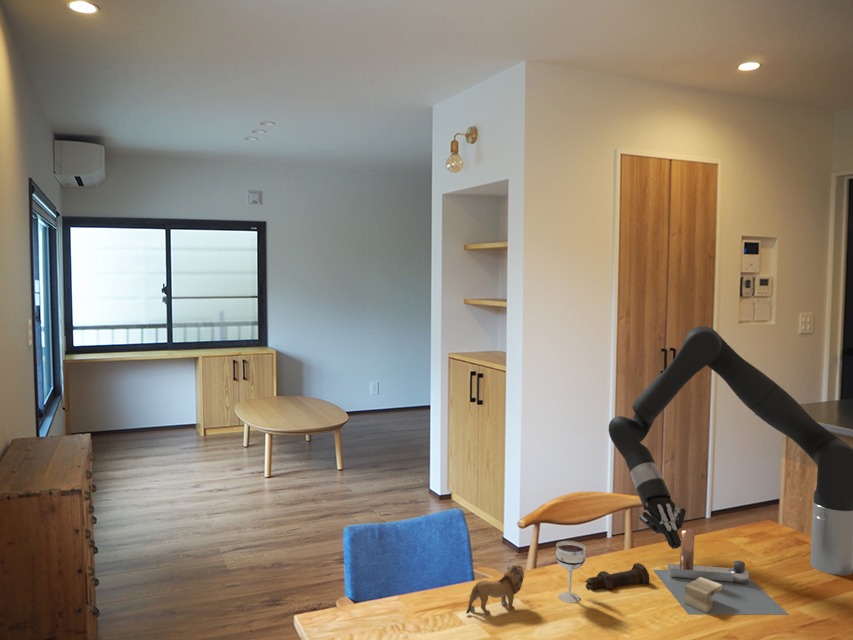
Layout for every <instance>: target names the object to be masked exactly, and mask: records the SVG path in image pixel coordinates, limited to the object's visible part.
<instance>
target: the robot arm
mask: <svg viewBox="0 0 853 640" xmlns="http://www.w3.org/2000/svg"><path fill="white" fill-rule="evenodd" d="M706 366H707V367H708V368H709V369H711V370H712V371H714V372H715V373H716V374H717V375H718V376H719V377H720V378H722V380H723V381H724V382H725V383H726V384H727V386H728V387H729V388H730V389H731V390H732V392H733V393H734V394H735V395H736V396H737V398H738V399H739V400H740V401H741V402H742V403H743V404H744V405H745V406H746V407H747V408H748V409H749V410H751V411H752V412H753V413H754V414H755V415H756V416H757V417H758V418H760V419H761V420H762V421H764V422H765V423H766V424H768V425H770V426H771V427H772V428H773V429H775V430H777V431H778V432H779V433H782V434H783V435H785V436H786V437H788V438H790V439H791V440H792V441H793V442H795V444H797V445H798V447H800V448H801V449H802V450H803V452H805V453H806V454H807V455H808V456H809V457H810V459H811V460H812V461H813V462H814V464H816V466H817V473H816V474H817V475H816V477H817V478H816V487H815V490H814V491H813V503H812V505H813V506H812V525H811V540H810V541H811V545H810V547H811V548H810V559H809V560H810V561H809V562H810V563H809V565H810V566H811V567H812V568H813V569H814V570H815V569H816V570H817V571H819V572H822V573H826V574H828V575H834V576H849V575H852V574H853V447H852V446H851V445H850V444H849V443H847V442H846V441H844V440H843V439H841V438H840V437H838V436H837V435H835V434H834V433H832V432H831V431H830V430H828V429H826V428H825V427H824V426H822V425H821V424H820V423H818V422H817V421H816V420H815V419H814V418H812V417H811V415H809V413H808V412H807V411H806V410H805V409H804V408H803V407H802V405H800V403H798V402H797V400H796V399H795V398H794V397H792V396H791V395H790V393H788V391H786V390H785V389H784V388H782V387H781V386H780V384H779V385H778V384H777V383H776V382H775V381H774V380H773V379H772V378H770V377H768V376H767V375H766V374H765V373H764V372H762V371H761V370H760V369H758V368H757V367H755V366H754V365H752V364H751V363H750V362H748V361H747V360H746V359H744V358H743V357H741V356H740V354H739V353H737V352H736V351H735V350H734V349H733V348H732V347H731V346H730V345H729V344H728V343H727V342H726V340H725V339H724V338H722V336H721V335H720V334H719V333H718V332H717V331H716V330H715V329H713V328H711V327H708V326H696V327H694V328H693V327H692V329H690V330H689V331H688V332H687V334H686V336H685V337H684V339H683V344H682V346H681V347H680V349H679V351H678V352H677V354H676V355H675V357H674V358H673V360H672V361H671V363H670V364H669V365H668V366H667V367H666V368H665V369H664V370H663V371H662V372H661V373H660V374H659V375H658V376H657V377H655V379H654V380H653V381H652V382H650V384H649V385H648V386H646V388H645V389H644V390H643V391H642V392H641V394H640V395H639V396H638V397H637V398H636V399H635V401H634V402H633V404H632V410H633V412H634V415H633V416H632V418H629V417H627V416H621V415H619V416H618V415H617V416H615V417H613V418H612V419H611V420H610V422H609V424H608V433H609V434H608V435H609V437H610V439H611V441H612V443H613V445H614V447H616V449H617V451H618V453H620V455H621V456H622V457H623V459H624V460H625V463H626V466H627V469H628V470H629V473H630V476H631V480H632V483H633V484H634V485H633V486H634V487H635V490H636V493H637V496H638V497H639V500H640V502H641V504H642V505H643V513H641V515H639V520H640V521H641V522H643V523H644V524H645V525H647V527H648V528H650V529H651V530H652V531H653V532H655V533H656V534H663V536H664V537H665V539H666V542H667V544H668V546H669V547H671V549H672V550H674V549H675V550H676V549H679V548H681V537H680V535H679V533H678V532H679V530H680V529H681V528H682V527H683V523H684V521H685V516H686V510H687V509H685V508H679V507H677V506H676V503H675V502H673V501H672V499H671V493H670V491H669V488H668V486H667V484H666V483H665V480H664V477H663V475H662V473H661V471H660V469H659V468H658V466H657V464H656V462H655V460H654V458H653V455H652V453H651V451H650V450H649V448H648V447H647V446H646V445H644V444H642V443H641V442H642V441H644V440H645V438H646V437H647V435H648V433H649V432H650V430H651V427H652V426H653V424H654V421H656V420H655V419H656V418H657V417H658V416H659V415H660V414H661V413H662V412H663V410H665V408H666V407H667V406H668V405H669V404H670V403H671V402H672V401H673V399H674V397H676V395H677V394H679V392H680V390H681V389H682V388H683V387H684V386H685V385H686V384H687V383H688V382H689V381H690V380H691V379H692V378H693V377H694V376H695V375H696V374H698V373H699V372H700V371H701V370H702V369H703V368H705V367H706Z"/></svg>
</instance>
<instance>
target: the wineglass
mask: <svg viewBox="0 0 853 640" xmlns="http://www.w3.org/2000/svg"><path fill="white" fill-rule="evenodd" d="M555 546H556V551H555V559H556V561H557V563H558V564H559V566H561V567H562V568H564V569H566V571H568V573H567V574H568V576H567V577H568V592H561V593H559V594H558V599H560V600H561V601H562V602H564V603H568V604H569V603H570V604H571V603H572V604H574V603H579V602H580V601H581V596H580V595H578V594H576V593H573V592H571V589H572V578H573V577H572V575H573V572H574V570H578V569H580V568H582V566H583V565H585V562H586V557H587V556H586V552H585V551H586V549H587V547H586V546H585V544H582V543H580V542H579V541H574V540H573V541H572V540H564V541H563V540H562V541H558V542H557V543H556V545H555Z"/></svg>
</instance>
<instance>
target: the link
mask: <svg viewBox="0 0 853 640" xmlns="http://www.w3.org/2000/svg"><path fill="white" fill-rule="evenodd" d="M680 531H681V533H680V540H681V546H680V554H679V555H680V557H679V563H670V562H669V563H667V570H668V573H669V575H670V577H681V578H694V579H698V578H700V577H702V578H705V579H708V580H719V581H732V582H736V583H741V584H745V583H748V582H749V578H750V572H749V571H748V570H747V569H745V571H744V572H737V571H735V570H734V566H733V567H720V566H719V567H718V566H707V565H694V558H695V555H694V553H695V530H693V529H690V528H682V529H681V530H680Z"/></svg>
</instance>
